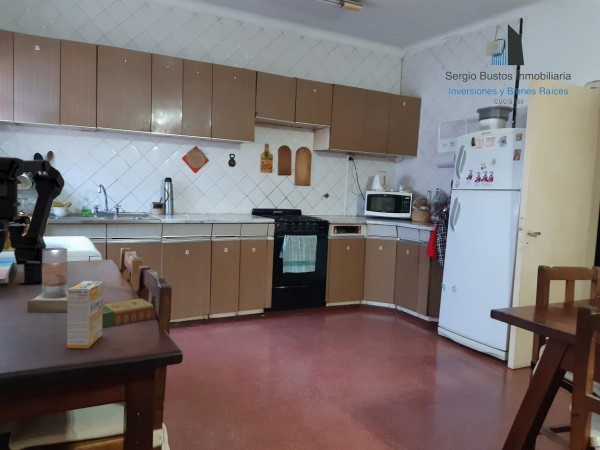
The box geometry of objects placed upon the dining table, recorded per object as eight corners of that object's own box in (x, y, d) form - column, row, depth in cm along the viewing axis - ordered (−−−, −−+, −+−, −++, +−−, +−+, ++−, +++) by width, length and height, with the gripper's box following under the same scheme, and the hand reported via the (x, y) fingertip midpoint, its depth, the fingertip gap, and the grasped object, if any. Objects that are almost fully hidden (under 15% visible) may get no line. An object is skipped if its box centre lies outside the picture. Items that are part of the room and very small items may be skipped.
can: (54, 291, 127) (54, 246, 126) (72, 294, 126) (72, 248, 124) (36, 296, 121) (36, 249, 120) (55, 299, 120) (55, 252, 118)
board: (42, 302, 128) (42, 291, 127) (79, 302, 129) (79, 291, 129) (27, 312, 118) (27, 300, 118) (68, 312, 120) (68, 300, 119)
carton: (153, 320, 118) (154, 304, 117) (90, 331, 107) (90, 314, 106) (140, 312, 124) (141, 297, 123) (79, 322, 113) (79, 306, 112)
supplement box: (89, 349, 95) (90, 289, 94) (66, 348, 95) (66, 288, 93) (103, 336, 103) (104, 280, 102) (82, 335, 103) (82, 279, 102)
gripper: (-8, 196, 141) (-7, 245, 142) (-42, 199, 123) (-41, 254, 124) (30, 198, 143) (30, 246, 144) (2, 200, 125) (3, 255, 126)
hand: (6, 250), depth 135 cm, fingers open, 9 cm apart
